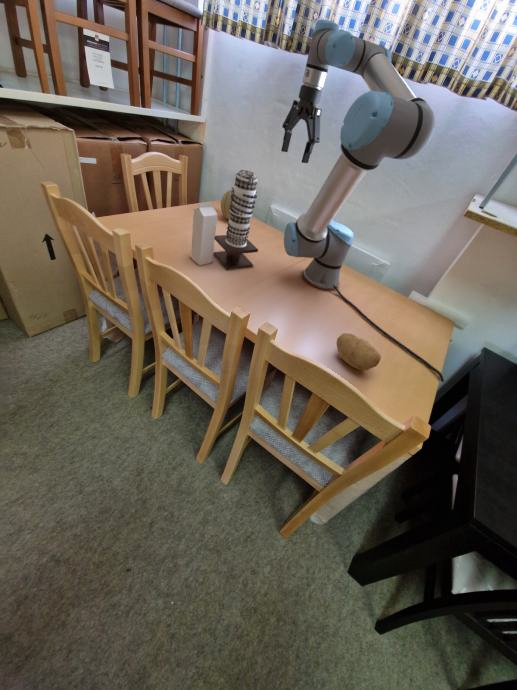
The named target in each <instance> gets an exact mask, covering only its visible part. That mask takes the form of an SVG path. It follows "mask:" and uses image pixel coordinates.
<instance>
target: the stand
mask: <svg viewBox="0 0 517 690" xmlns="http://www.w3.org/2000/svg"><path fill="white" fill-rule="evenodd" d="M225 240H226V234H219V235H215V240H214V241H215V242H216V243H217V244H218V245H219V246H220V247H221V248H222V249H223V251H213V257H215V258H216V259H217V260H218V261H219V263H220V264H221V265H222V266H223V267H224V268H225V269H226V270H227V271H228V270H229V271H230V270H237V269H239V270H240V269H246V268H253V267H254V264H253V263H252V261H250V259H249V258H248V257H247V256H246V255H245V254H250V253H251V254H253V253H258V252H259V248H257V247H256V246H255V245H254V244H253V243H252V241H250V240H249V239H248V240H247V242H246V243H247V244H246V246H245V247H242V248H237V247H233V246H230V245H228V244H227V243H226V241H225Z"/></svg>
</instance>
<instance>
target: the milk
mask: <svg viewBox="0 0 517 690" xmlns="http://www.w3.org/2000/svg"><path fill="white" fill-rule="evenodd" d="M217 221H218V213H217V211H216V209H215V208H214V202H213V201H212V202H211V201H210V202H199V204H198V207H197V208H194V209H193V217H192V233H191V251H190V253H191V254H190V258H191V260H193V262H195V263H196V264H197V265H198V266H202V265H207V264H212V263H213V257H214V249H215V248H214V247H215V241H216V240H215V236H216V230H217V223H218V222H217Z"/></svg>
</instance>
